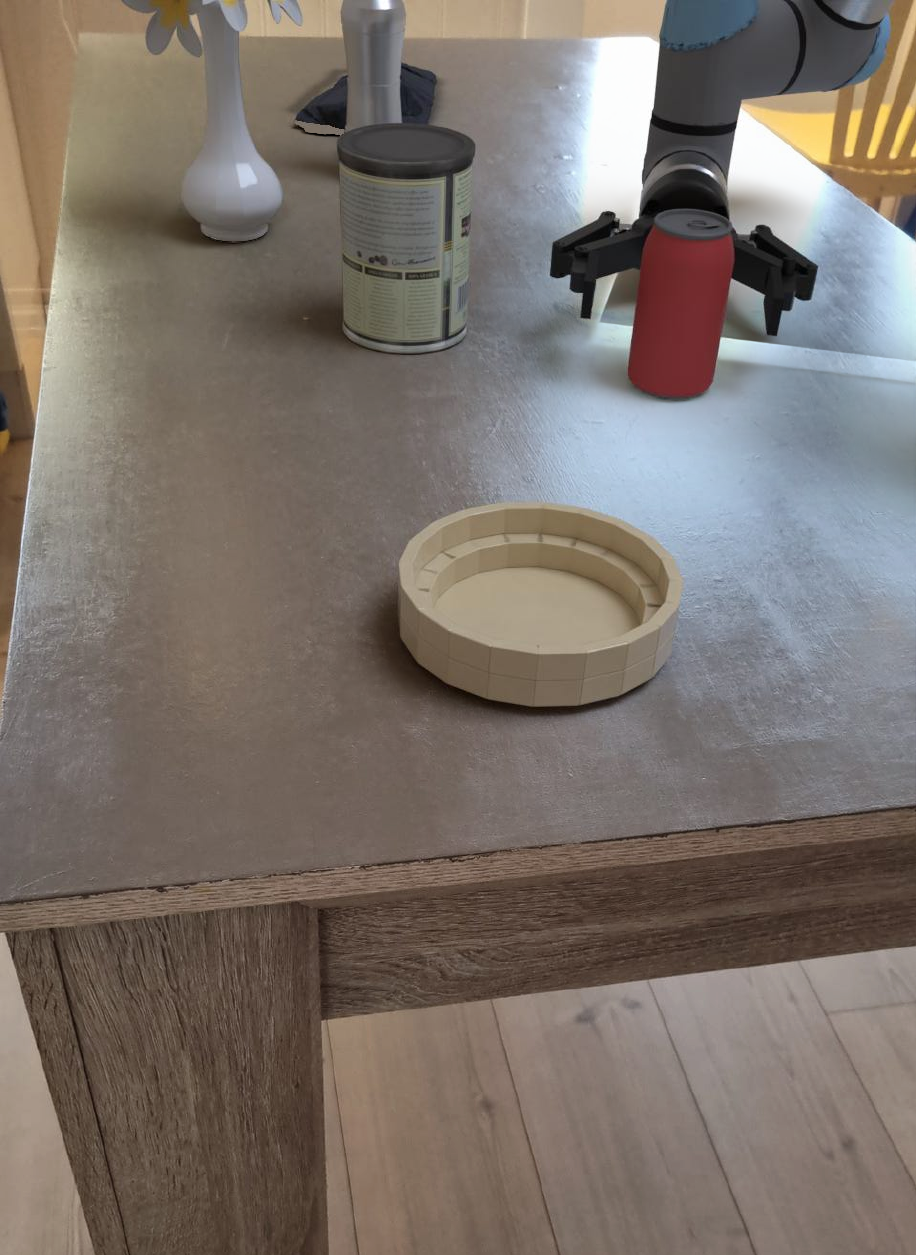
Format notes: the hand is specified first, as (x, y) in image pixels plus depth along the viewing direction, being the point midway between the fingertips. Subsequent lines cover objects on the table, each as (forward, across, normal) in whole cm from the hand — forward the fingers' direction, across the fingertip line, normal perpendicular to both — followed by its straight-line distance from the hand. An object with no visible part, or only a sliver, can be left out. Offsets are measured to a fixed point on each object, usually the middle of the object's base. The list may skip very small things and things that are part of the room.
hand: (680, 309), depth 94 cm
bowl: (+34, +7, -6) cm, 35 cm away
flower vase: (-26, +40, -7) cm, 49 cm away
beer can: (-2, 0, -7) cm, 7 cm away
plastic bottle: (-47, +31, -7) cm, 57 cm away
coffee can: (-8, +22, -7) cm, 24 cm away
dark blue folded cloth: (-70, +36, -7) cm, 79 cm away
